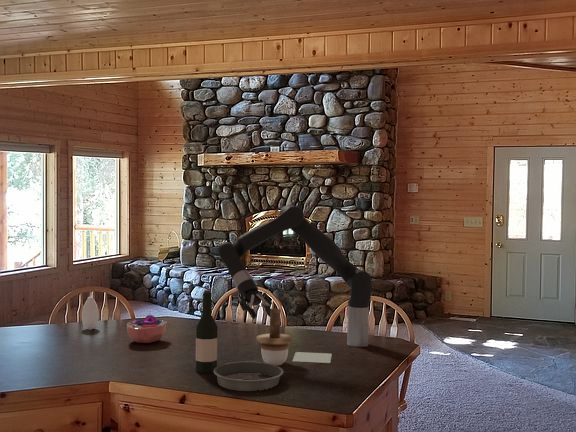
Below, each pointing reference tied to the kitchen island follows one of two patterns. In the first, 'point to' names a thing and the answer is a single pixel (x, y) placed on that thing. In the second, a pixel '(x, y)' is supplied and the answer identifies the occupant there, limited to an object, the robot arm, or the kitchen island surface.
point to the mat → (312, 357)
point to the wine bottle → (206, 338)
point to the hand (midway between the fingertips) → (263, 316)
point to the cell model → (146, 329)
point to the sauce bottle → (90, 313)
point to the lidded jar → (274, 353)
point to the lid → (274, 331)
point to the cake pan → (247, 368)
